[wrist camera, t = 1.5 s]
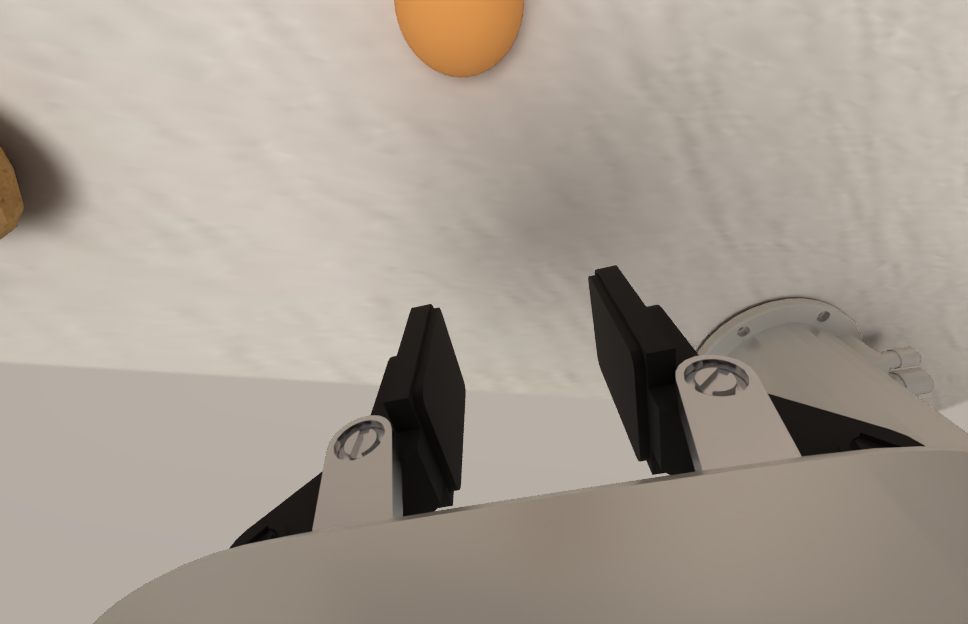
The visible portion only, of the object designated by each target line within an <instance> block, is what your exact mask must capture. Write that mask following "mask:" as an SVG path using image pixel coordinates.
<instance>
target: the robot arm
mask: <svg viewBox="0 0 968 624" xmlns="http://www.w3.org/2000/svg"><path fill="white" fill-rule="evenodd" d="M588 281H589V290H590V298H591V306H592V315H593V323H594V331H595V340H596V348H597V356H598V361H599V365H600V368H601V371H602V373H603V376H604V378H605V381H606V383H607V386H608V388H609V391H610V393H611V395H612V398H613V400H614V403H615V405H616V408H617V410H618V413H619V415H620V418H621V420H622V422H623V425H624V427H625V430H626V432H627V435H628V437H629V440H630V442H631V445H632V447H633V449H634V452H635V455H636V457H637V459H638V461H645V460H646V461H647V463H648V465H649V468H650V470H651V472H652V474H653V475H654V474H660V473H667V474H669V476H663V477H656V478H650V479H643V480H636V481H629V482H622V483H616V484H609V485H602V486H596V487H589V488H582V489H576V490H569V491H563V492H556V493H550V494H543V495H537V496H530V497H524V498H517V499H511V500H504V501H498V502H492V503H485V504H479V505H472V506H466V507H459V508H454V509H447V510H441V511H435V510H436V509H437V508H441V507H446V506H452V505H453V495H454V491H456V490H460V487H461V472H462V452H463V433H464V414H465V384H464V380H463V377H462V374H461V371H460V368H459V365H458V362H457V358H456V355H455V352H454V349H453V346H452V343H451V340H450V337H449V334H448V330H447V327H446V324H445V321H444V318H443V315H442V312H441V310H440V308H433V306H432V305H431V304H429V305H424V306H419V307H414V308H412V309H411V311H410V314H409V318H408V321H407V324H406V327H405V331H404V334H403V337H402V341H401V344H400V347H399V350H398V354H397V356H394V357H391V358H390V359H389V361H388V364H387V367H386V370H385V373H384V376H383V379H382V382H381V385H380V388H379V391H378V394H377V397H376V401H375V404H374V407H373V410H372V413H371V415H370V416H365V417H361V418H359V419H356V420H354V421H352V422H350V423H348V424H347V425H345V426H344V427H343V428H342V429H340V430H339V431H338V432H337V433H336V434H335V435H334V436H333V438H332V439H331V441H330V442H329V445H328V448H327V451H326V456H325V462H324V468H323V472H321V473H320V474H319V475H317V476H316V477H315V478H314V479H312V480H311V481H310V482H308V483H307V484H306V485H304V486H303V487H302V488H300V489H299V490H298V491H297V492H295V493H294V494H293V495H291V496H290V497H289V498H288V499H286V500H285V501H284V502H282V503H281V504H280V505H279V506H277V507H276V508H275V509H274V510H272V511H271V512H269V513H268V514H267V515H266V516H265V517H263V518H262V519H261V520H259V521H258V522H257V523H256V524H254V525H253V526H251V527H250V528H249V529H247V530H246V531H245V532H244V533H243V534H242V535H241V536H240V537H239V538H238V539H237V540H236V541H235V542H234V543H233V545H232V546H231V547H230V548H229V549H227V550H224V551H220V552H216V553H213V554H210V555H208V556H205V557H203V558H200V559H197V560H194V561H192V562H189V563H187V564H184V565H182V566H180V567H178V568H176V569H174V570H172V571H170V572H168V573H166V574H164V575H162V576H160V577H158V578H156V579H154V580H152V581H150V582H148V583H146V584H145V585H143V586H141V587H140V588H138V589H137V590H135V591H133V592H131V593H130V594H128V595H127V596H126V597H124V598H123V599H121V600H120V601H118V602H117V603H115V604H114V605H113V606H112V607H111V608H109V609H108V610H107V611H106V612H105V613H104V614H102V616H100V617H99V618H98V619H97V620H96V621H95V622H94V623H93V624H968V433H966V432H965V431H963V430H962V429H961V428H959V427H958V426H957V425H955V424H954V423H952V422H951V421H950V420H948V419H947V418H946V417H944V416H943V415H942V414H940V413H939V412H938V411H936V410H935V409H934V408H932V407H931V406H929V405H928V404H927V403H925V402H924V401H923V400H921V399H920V398H919V397H917V396H916V395H919V394H925V393H929V392H931V391H932V389H933V381H932V379H931V377H930V375H929V374H928V373H927V372H926V371H925V370H923V369H921V368H910V369H904V370H898V371H892V372H889V370H890V369H891V368H895V369H896V368H902V367H908V366H914V365H918V364H919V363H920V362H921V356H920V354H919V352H918V351H917V350H916V349H915V348H913V347H910V346H909V347H904V348H898V349H892V350H887V351H886V352H878V351H876V350H873V349H872V348H870V347H869V346H867V345H866V344H864V343H863V340H862V336H861V332H860V330H859V329H858V327H857V325H856V323H855V322H854V321H853V320H852V319H851V318H849V317H848V316H847V315H846V314H845V313H843V312H842V311H840V310H838V309H837V308H835V307H834V306H832V305H830V304H827V303H824V302H821V301H819V300H812V299H805V298H795V299H783V300H777V301H772V302H768V303H765V304H762V305H759V306H756V307H753V308H751V309H749V310H747V311H745V312H743V313H741V314H739V315H737V316H735V317H734V318H732V319H731V320H729V321H728V322H727V323H725V324H724V325H722V326H721V327H720V328H719V329H718V330H717V331H715V332H714V333H713V334H712V335H711V336H710V337H709V338H708V339H707V341H706V342H705V343H704V344H703V346H702V347H701V348H700V349H699V351H698V353H697V352H696V351H695V350H694V349H693V347H692V346H691V345H690V343H689V342H688V341H687V340H686V338H685V337H684V336H683V334H682V333H681V332H680V331H679V329H678V328H677V327H676V325H675V324H674V323H673V322H672V320H671V319H670V318H669V316H668V315H667V314H666V313H665V311H664V310H663V309H662V307H660V306H659V305H653V306H648V307H646V306H645V305H644V303H643V302H642V300H641V299H640V298H639V296H638V295H637V293H636V292H635V291H634V289H633V288H632V286H631V285H630V284H629V282H628V281H627V279H626V278H625V277H624V275H623V274H622V272H621V271H620V270H619V268H618V267H617V266H611V267H606V268H601V269H597V270H595V275H593V276H589V278H588Z"/></svg>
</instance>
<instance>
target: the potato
mask: <svg viewBox="0 0 968 624" xmlns="http://www.w3.org/2000/svg"><path fill="white" fill-rule="evenodd" d="M23 210H24V204H23V201H22V197H21V194H20V190H19V186H18V183H17V179H16V176H15V172H14V169H13V167H12V165H11V163H10V162H9V160H8V158H7V156H6V155H5V153H4V151H3V149H2V148H1V147H0V239H2V238H3V237H4V236H5V235H7V234H8V233H9V232H11V231H12V230H13V229H14V228H16V227H17V225H18V222H19V220H20V217H21V215H22V212H23Z"/></svg>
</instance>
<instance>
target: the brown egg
mask: <svg viewBox="0 0 968 624" xmlns="http://www.w3.org/2000/svg"><path fill="white" fill-rule="evenodd" d="M394 3H395V11H396V16H397V20H398V23H399V26H400V29H401V31H402V34H403V36H404V38H405V40H406V41H407V43H408V45H409V46H410V48H411V49H412V50H413V52H414V53H415V54H416V55H417V56H418V57H419V58H420V59H421V60H422V61H423V62H424V63H425V64H426V65H428V66H429V67H431V68H432V69H434V70H436V71H438V72H440V73H442V74H445V75H449V76H455V77H468V76H474V75H477V74H480V73H483V72H485V71H486V70H488V69H490V68H491V67H493V66H494V65H496V64H497V63H498V62H499V61H500V60H501V59H502V58H503V57H504V56H505V55H506V53H507V52H508V51H509V49H510V48H511V46H512V44H513V43H514V40H515V38H516V36H517V34H518V31H519V28H520V25H521V20H522V16H523V8H524V0H394Z"/></svg>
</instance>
